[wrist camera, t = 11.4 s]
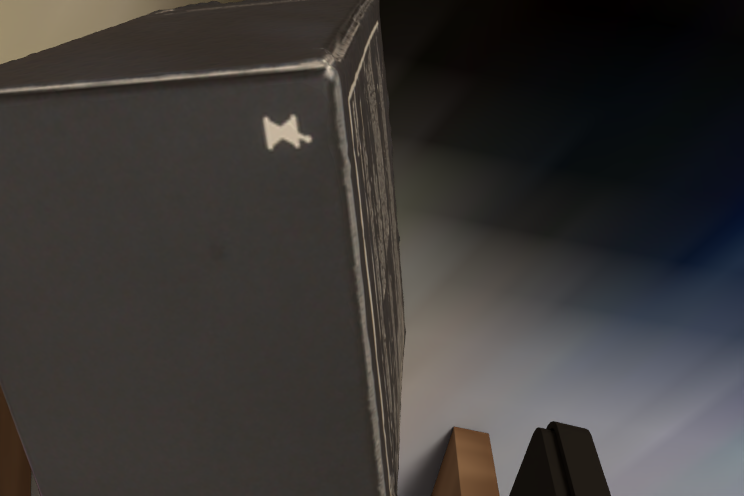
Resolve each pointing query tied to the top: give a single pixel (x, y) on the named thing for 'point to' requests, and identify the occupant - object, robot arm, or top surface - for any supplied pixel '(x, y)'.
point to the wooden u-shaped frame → (451, 492)
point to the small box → (204, 255)
